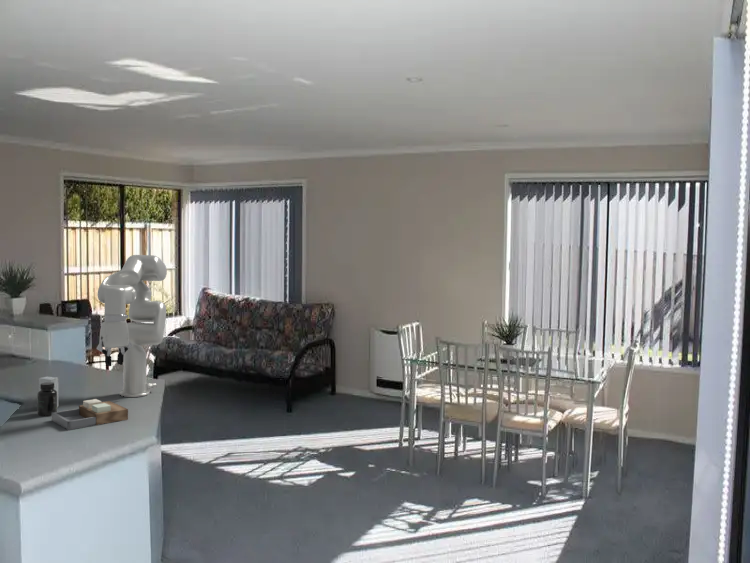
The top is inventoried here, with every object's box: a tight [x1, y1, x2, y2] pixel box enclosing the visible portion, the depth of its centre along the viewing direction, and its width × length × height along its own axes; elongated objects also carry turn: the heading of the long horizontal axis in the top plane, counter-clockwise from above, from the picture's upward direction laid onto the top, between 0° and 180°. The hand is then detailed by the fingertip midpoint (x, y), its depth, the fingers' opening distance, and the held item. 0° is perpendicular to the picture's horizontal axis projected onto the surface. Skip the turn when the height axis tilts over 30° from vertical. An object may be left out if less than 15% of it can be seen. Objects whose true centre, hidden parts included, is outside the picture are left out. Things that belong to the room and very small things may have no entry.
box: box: [51, 407, 97, 431], centre depth 242 cm, size 10×16×3 cm, turn 46°
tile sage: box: [92, 403, 111, 413], centre depth 245 cm, size 5×5×2 cm
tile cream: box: [82, 398, 103, 409], centre depth 251 cm, size 5×5×2 cm
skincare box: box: [38, 376, 59, 408], centre depth 262 cm, size 6×4×12 cm
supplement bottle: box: [36, 382, 58, 417], centre depth 252 cm, size 7×7×12 cm
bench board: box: [78, 400, 129, 426], centre depth 250 cm, size 12×16×4 cm
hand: (114, 364), depth 256 cm, fingers open, 3 cm apart
